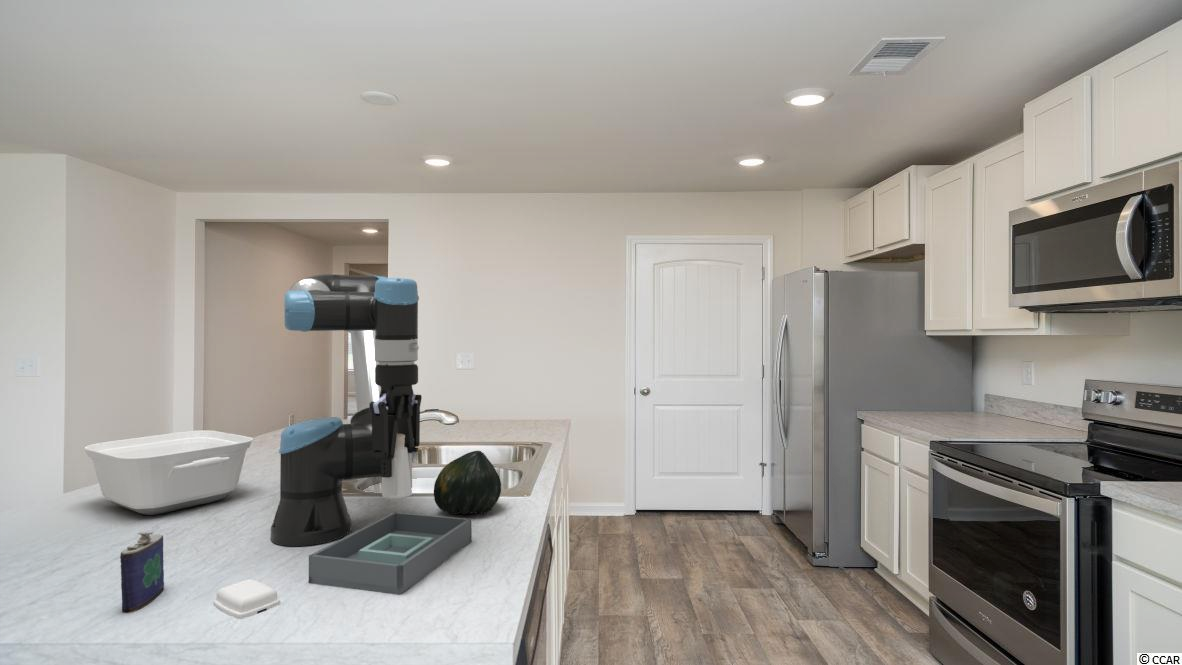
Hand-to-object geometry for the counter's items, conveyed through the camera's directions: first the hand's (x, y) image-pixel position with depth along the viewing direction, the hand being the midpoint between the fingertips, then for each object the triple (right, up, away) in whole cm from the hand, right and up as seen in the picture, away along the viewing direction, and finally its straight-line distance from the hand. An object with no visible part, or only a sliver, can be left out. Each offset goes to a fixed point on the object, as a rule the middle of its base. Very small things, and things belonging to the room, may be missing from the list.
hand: (397, 490), depth 114 cm
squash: (+7, -13, +31) cm, 34 cm away
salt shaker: (0, -1, 0) cm, 1 cm away
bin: (0, -13, 0) cm, 13 cm away
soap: (-18, -14, -18) cm, 28 cm away
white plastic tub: (-66, -13, +37) cm, 76 cm away
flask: (-35, -13, -16) cm, 40 cm away
